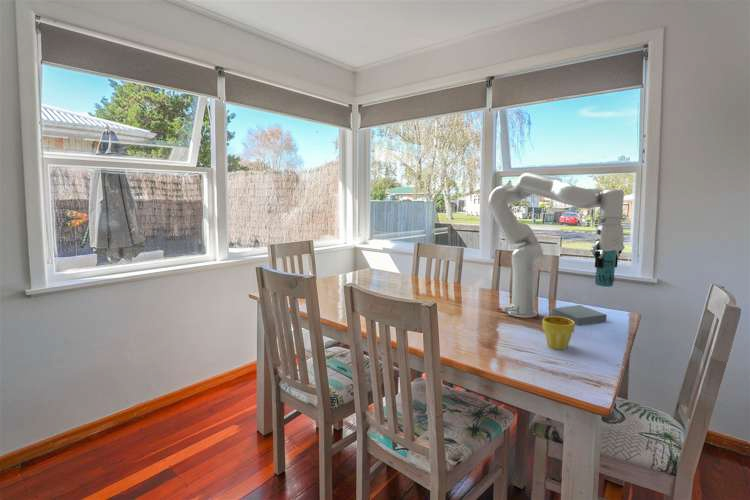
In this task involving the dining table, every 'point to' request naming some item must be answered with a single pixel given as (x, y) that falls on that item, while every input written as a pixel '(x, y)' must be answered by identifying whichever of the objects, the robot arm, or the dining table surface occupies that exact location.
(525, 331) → the dining table surface
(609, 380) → the dining table surface
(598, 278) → the beverage bottle
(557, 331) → the plant pot
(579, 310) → the stand
